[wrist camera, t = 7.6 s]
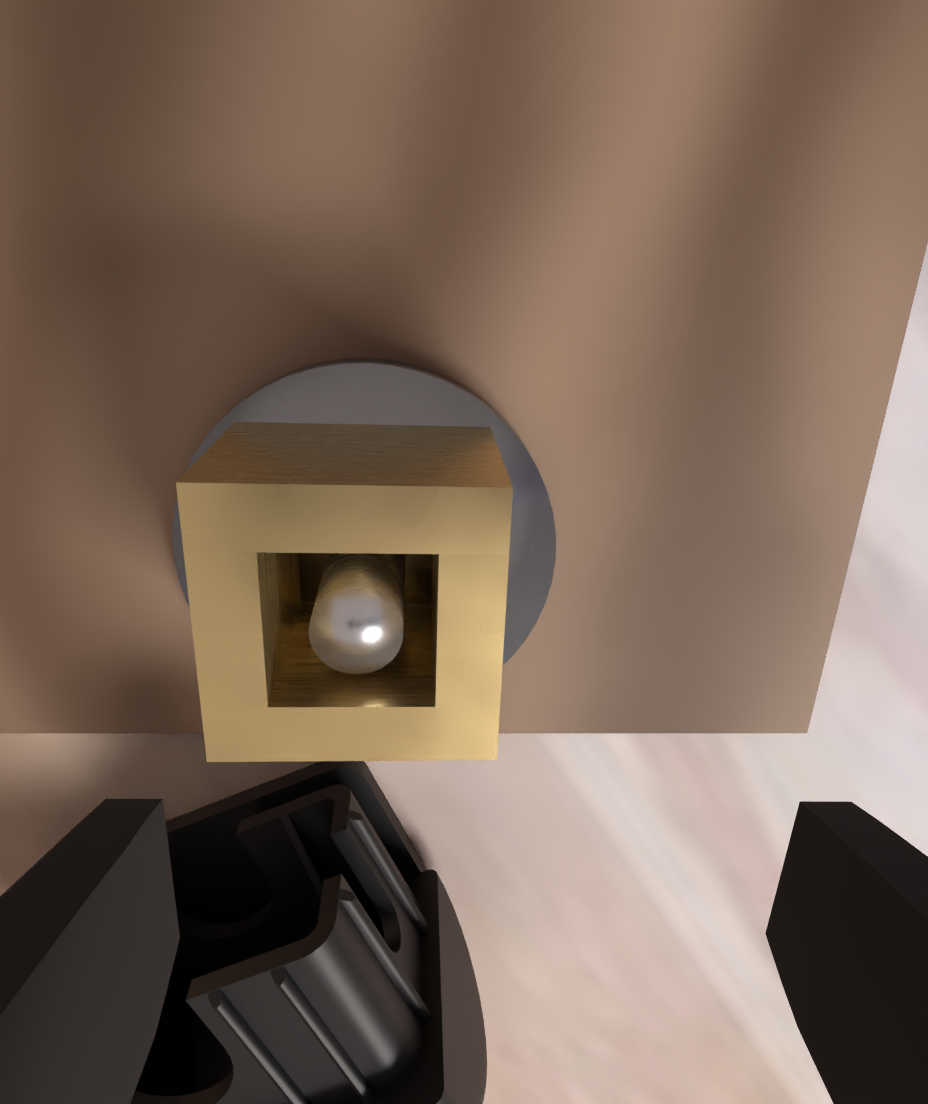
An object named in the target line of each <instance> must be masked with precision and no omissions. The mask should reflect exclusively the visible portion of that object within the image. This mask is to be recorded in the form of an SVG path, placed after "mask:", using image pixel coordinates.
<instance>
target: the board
mask: <svg viewBox="0 0 928 1104" xmlns="http://www.w3.org/2000/svg"><path fill="white" fill-rule="evenodd" d="M927 242H928V0H0V733H204V732H203V723H202V714H201V705H200V696H199V687H198V678H197V669H196V660H195V651H194V642H193V633H192V624H191V615H190V608H189V606H188V604H187V602H186V600H185V598H184V595H183V592H182V589H181V586H180V583H179V580H178V576H177V571H176V565H175V560H174V554H173V522H174V513H175V506H176V502H177V498H178V497H177V488H176V482H177V481H178V480H179V479H180V478H181V477H182V476H183V475H184V474H185V473H186V471H187V469H188V467H189V464H190V462H191V460H192V458H193V457H194V455H195V454H196V452H197V450H198V449H199V447H200V445H201V444H202V442H203V441H204V439H205V438H206V437H207V436H208V434H209V433H210V432H211V431H212V430H213V429H214V427H215V426H216V425H217V424H218V423H219V421H220V420H221V419H222V418H223V417H224V416H226V415H227V414H228V413H229V412H230V411H231V410H232V409H233V408H234V407H235V406H237V405H238V404H239V403H240V402H241V401H242V400H243V399H244V398H246V397H247V396H248V395H249V394H251V393H252V392H254V391H255V390H257V389H258V388H260V387H261V386H263V385H264V384H266V383H267V382H269V381H271V380H273V379H275V378H277V377H280V376H282V375H284V374H286V373H288V372H290V371H292V370H296V369H299V368H302V367H305V366H308V365H312V364H315V363H319V362H325V361H331V360H337V359H342V358H378V359H388V360H396V361H400V362H405V363H409V364H413V365H418V366H421V367H424V368H426V369H429V370H432V371H434V372H437V373H440V374H442V375H445V376H447V377H449V378H450V379H452V380H454V381H456V382H458V383H460V384H462V385H463V386H465V387H467V388H468V389H470V390H471V391H473V392H474V393H475V394H477V395H478V396H480V397H481V398H482V399H484V400H485V401H486V402H488V403H489V404H490V405H491V406H492V407H493V408H494V409H495V410H496V411H497V412H498V413H499V414H500V415H501V416H502V417H503V418H505V420H506V421H507V422H508V423H509V424H510V426H511V427H512V428H513V429H514V431H515V432H516V433H517V434H518V436H519V437H520V438H521V440H522V442H523V443H524V445H525V447H526V448H527V450H528V452H529V453H530V455H531V457H532V458H533V460H534V462H535V464H536V466H537V468H538V470H539V473H540V475H541V477H542V480H543V482H544V484H545V487H546V489H547V492H548V496H549V499H550V503H551V507H552V511H553V515H554V523H555V531H556V561H555V567H554V573H553V579H552V584H551V587H550V590H549V594H548V597H547V600H546V603H545V605H544V608H543V610H542V612H541V614H540V616H539V618H538V621H537V623H536V624H535V626H534V628H533V629H532V631H531V632H530V634H529V635H528V637H527V639H526V640H525V642H524V643H523V644H522V645H521V647H520V648H519V649H518V650H517V651H516V653H515V654H514V655H513V656H512V657H511V659H510V660H508V661H507V662H506V663H505V664H504V665H503V666H502V682H501V699H500V715H499V732H498V733H807V731H808V727H809V723H810V719H811V715H812V711H813V707H814V703H815V699H816V695H817V690H818V686H819V682H820V678H821V674H822V670H823V666H824V662H825V658H826V654H827V650H828V646H829V642H830V637H831V633H832V629H833V625H834V621H835V617H836V613H837V609H838V605H839V601H840V597H841V593H842V589H843V585H844V580H845V576H846V572H847V568H848V564H849V560H850V556H851V552H852V548H853V544H854V540H855V536H856V532H857V527H858V523H859V519H860V515H861V511H862V507H863V503H864V499H865V495H866V491H867V487H868V483H869V479H870V474H871V470H872V466H873V462H874V458H875V454H876V450H877V446H878V442H879V438H880V434H881V430H882V426H883V421H884V417H885V413H886V409H887V405H888V401H889V397H890V393H891V389H892V385H893V381H894V377H895V373H896V369H897V364H898V360H899V356H900V352H901V348H902V344H903V340H904V336H905V332H906V328H907V324H908V320H909V316H910V311H911V307H912V303H913V299H914V295H915V291H916V287H917V283H918V279H919V275H920V271H921V267H922V263H923V258H924V254H925V250H926V246H927Z"/></svg>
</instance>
